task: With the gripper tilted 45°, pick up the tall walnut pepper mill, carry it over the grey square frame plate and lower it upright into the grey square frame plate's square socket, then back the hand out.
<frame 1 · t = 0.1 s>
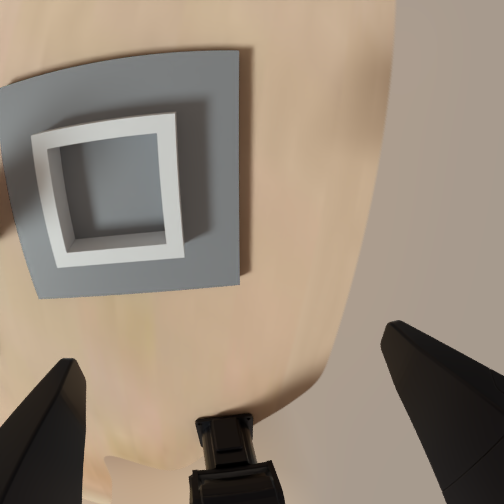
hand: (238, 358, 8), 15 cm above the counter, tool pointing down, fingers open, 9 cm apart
grey square frame plate: (115, 182, 19), on the counter
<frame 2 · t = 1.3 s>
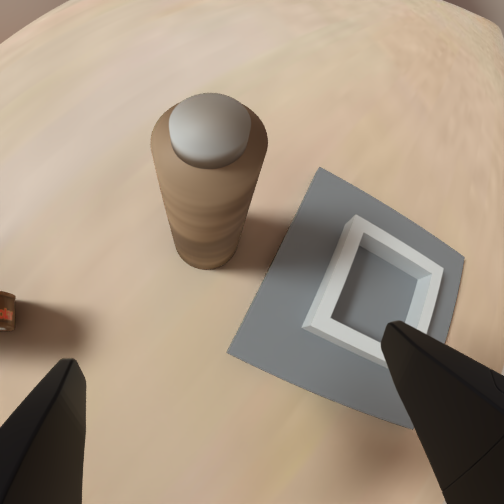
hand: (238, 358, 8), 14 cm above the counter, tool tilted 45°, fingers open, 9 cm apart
mill: (206, 238, 23), on the counter
grey square frame plate: (367, 301, 24), on the counter
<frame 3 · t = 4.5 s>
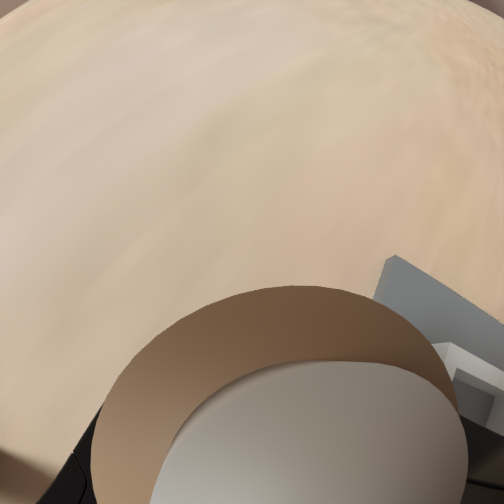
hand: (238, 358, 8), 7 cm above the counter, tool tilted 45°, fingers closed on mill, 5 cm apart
mill: (228, 383, 14), on the counter, touching gripper
grey square frame plate: (438, 433, 14), on the counter
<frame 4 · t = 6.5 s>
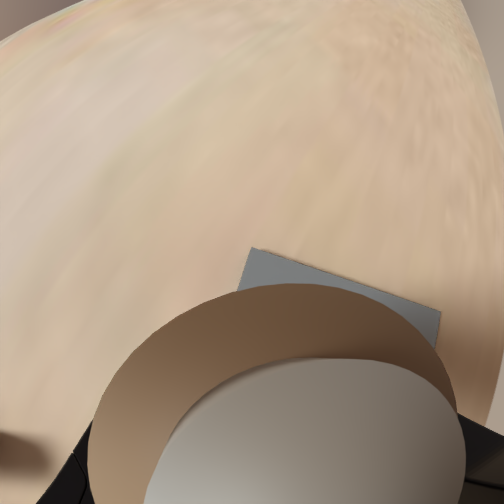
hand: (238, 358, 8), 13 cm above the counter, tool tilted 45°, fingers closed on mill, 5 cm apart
mill: (228, 382, 14), point 6 cm above the counter, touching gripper
grey square frame plate: (325, 392, 20), on the counter
when the fingers open (9 cm above the counter, at t = 8.3 s): mill drops 1 cm, resting on grey square frame plate.
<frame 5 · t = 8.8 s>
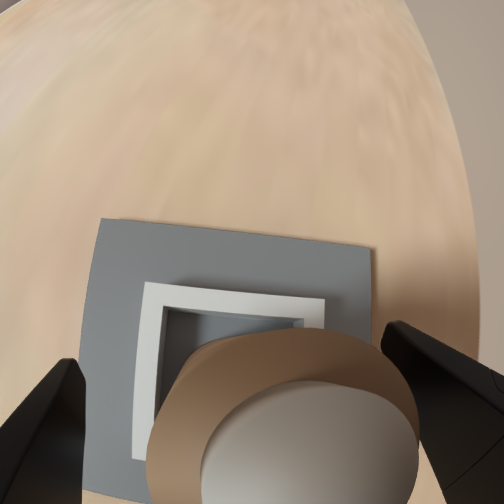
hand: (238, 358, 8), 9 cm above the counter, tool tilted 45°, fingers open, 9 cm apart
mill: (225, 383, 15), point 1 cm above the counter, touching grey square frame plate
grey square frame plate: (225, 378, 16), on the counter
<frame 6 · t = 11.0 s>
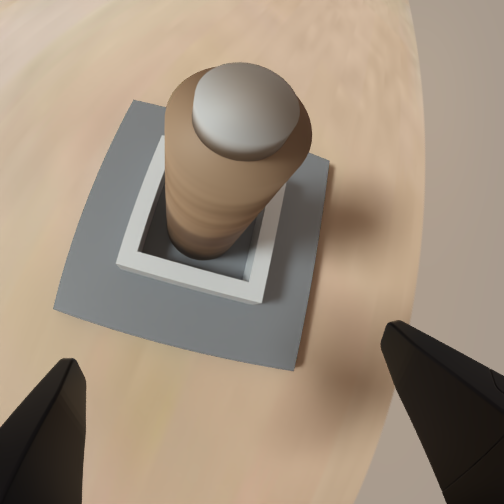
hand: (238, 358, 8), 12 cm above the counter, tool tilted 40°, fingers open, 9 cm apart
mill: (202, 225, 21), point 1 cm above the counter, touching grey square frame plate
grey square frame plate: (201, 227, 22), on the counter
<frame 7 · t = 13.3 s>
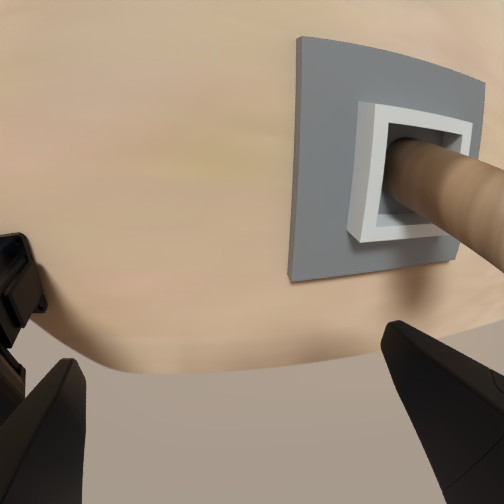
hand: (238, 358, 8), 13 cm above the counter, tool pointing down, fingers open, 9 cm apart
mill: (405, 169, 20), point 1 cm above the counter, touching grey square frame plate
grey square frame plate: (398, 166, 21), on the counter
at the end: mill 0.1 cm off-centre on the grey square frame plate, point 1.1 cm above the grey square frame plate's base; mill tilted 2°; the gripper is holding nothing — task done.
